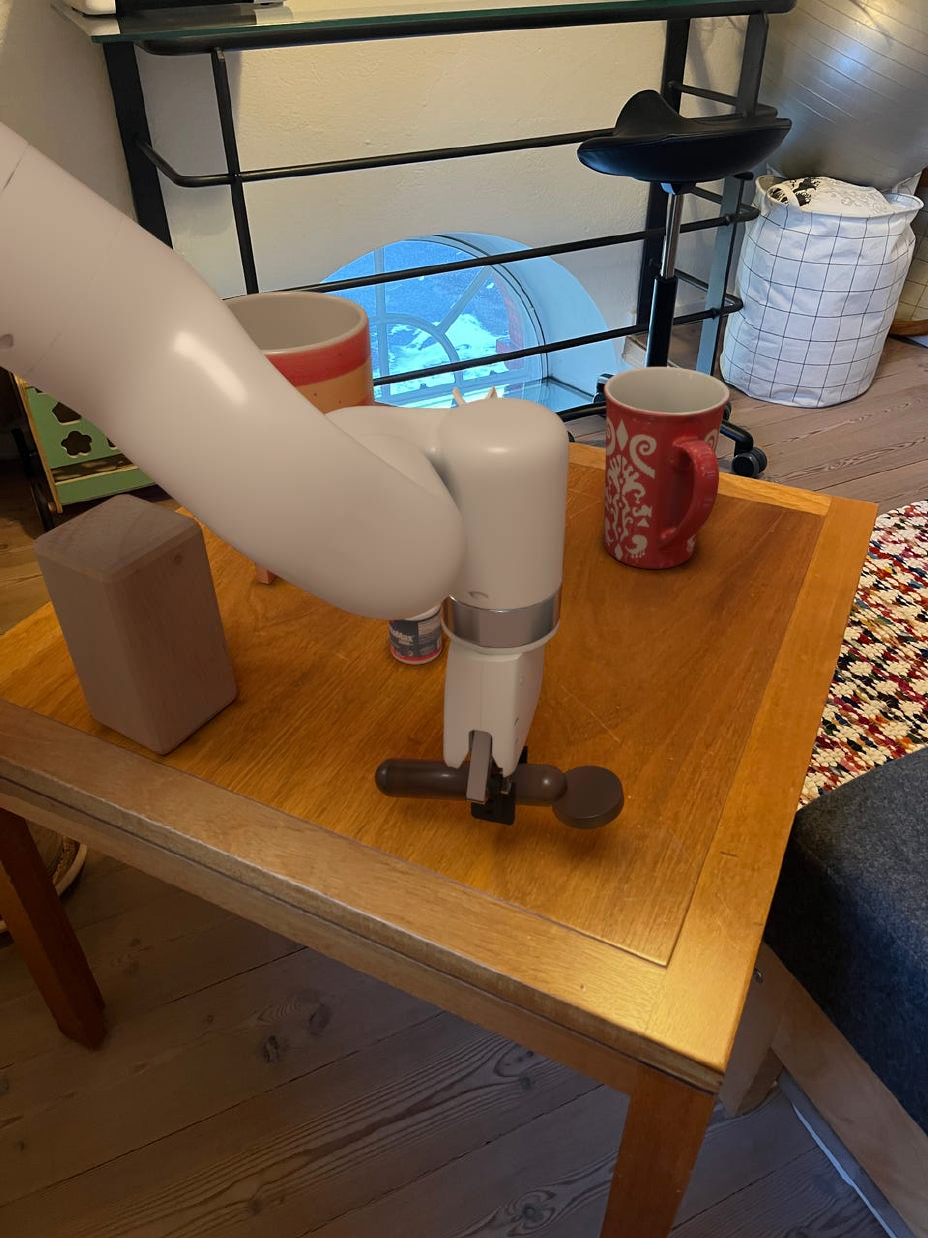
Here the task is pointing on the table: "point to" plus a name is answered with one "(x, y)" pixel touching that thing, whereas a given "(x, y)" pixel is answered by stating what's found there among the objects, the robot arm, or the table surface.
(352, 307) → the planter
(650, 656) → the table surface
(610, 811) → the spoon
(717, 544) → the table surface
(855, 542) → the table surface
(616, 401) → the mug
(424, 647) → the pill bottle
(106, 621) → the wooden block
